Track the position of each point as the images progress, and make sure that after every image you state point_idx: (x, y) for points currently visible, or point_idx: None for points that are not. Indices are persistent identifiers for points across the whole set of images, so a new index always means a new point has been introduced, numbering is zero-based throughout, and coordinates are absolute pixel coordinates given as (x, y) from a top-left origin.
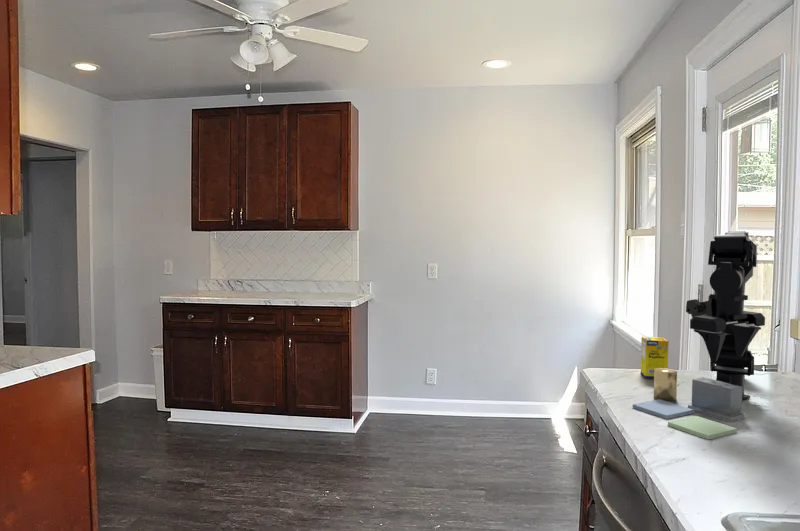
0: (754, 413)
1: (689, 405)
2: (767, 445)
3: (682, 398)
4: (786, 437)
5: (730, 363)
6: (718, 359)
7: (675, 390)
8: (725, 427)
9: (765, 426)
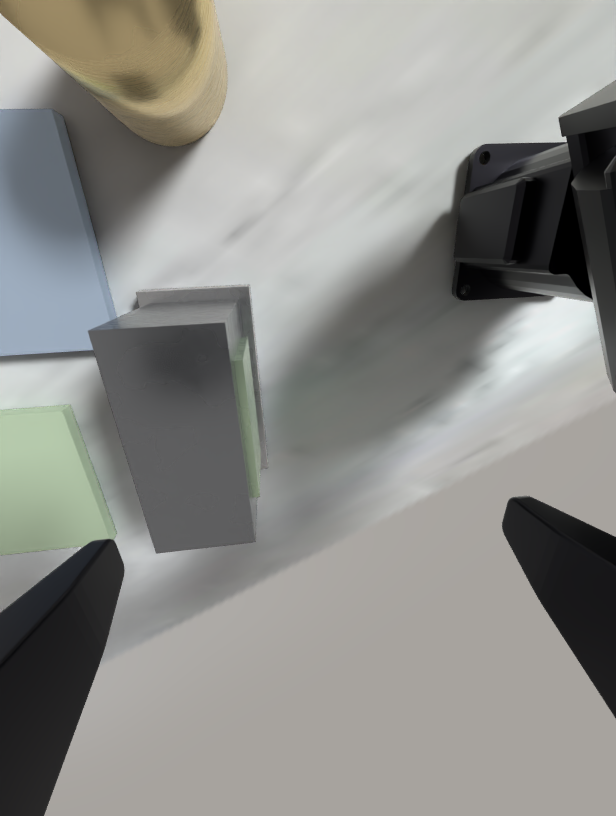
0: (360, 430)
1: (138, 299)
2: (118, 608)
3: (274, 119)
4: (226, 586)
5: (595, 307)
6: (593, 218)
7: (169, 122)
8: (77, 528)
9: (259, 522)
